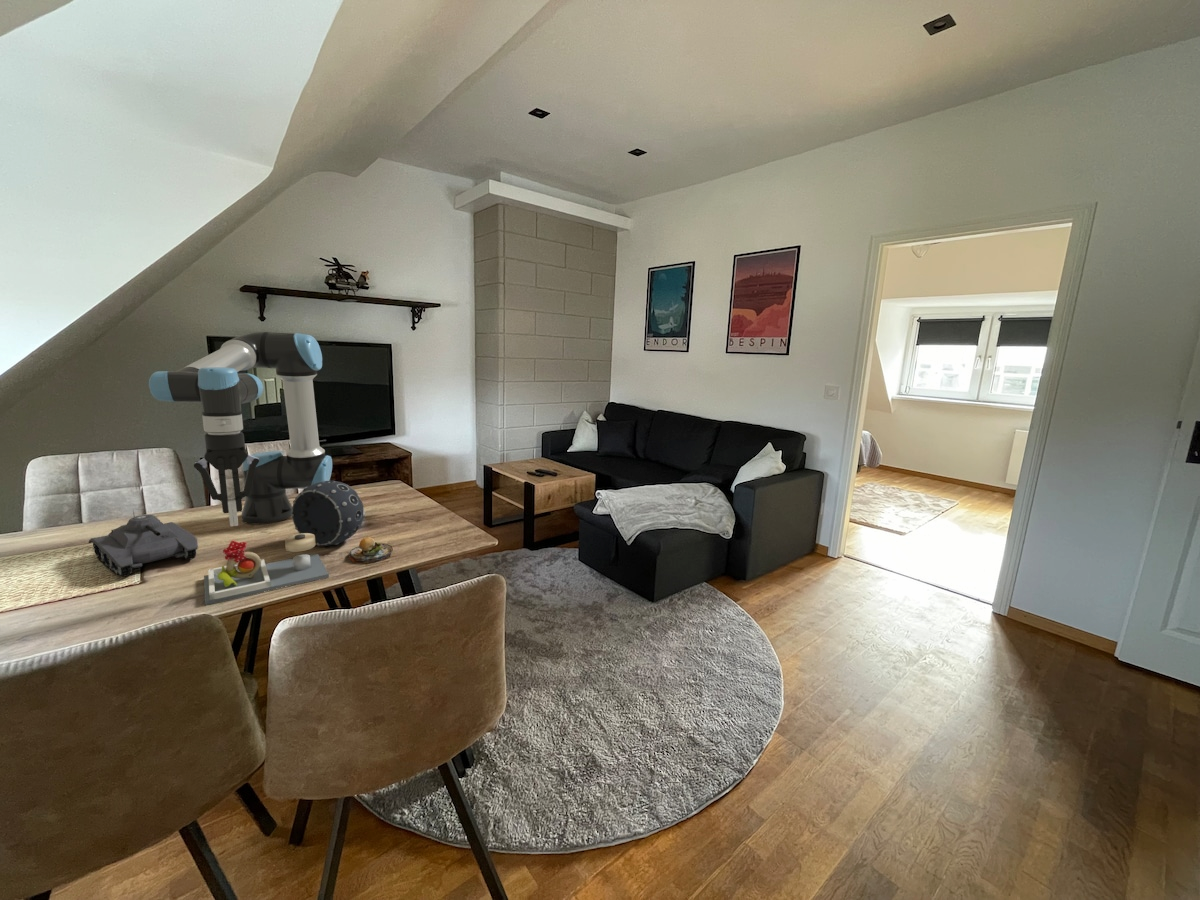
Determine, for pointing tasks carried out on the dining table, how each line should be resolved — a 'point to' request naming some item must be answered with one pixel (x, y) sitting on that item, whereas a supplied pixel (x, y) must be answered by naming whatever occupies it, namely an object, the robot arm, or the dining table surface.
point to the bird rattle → (246, 564)
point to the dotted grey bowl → (328, 512)
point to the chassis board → (265, 578)
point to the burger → (370, 551)
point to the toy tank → (143, 544)
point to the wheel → (300, 542)
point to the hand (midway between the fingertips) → (234, 524)
